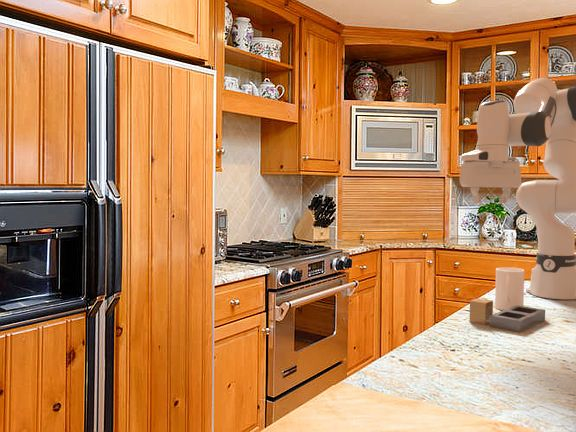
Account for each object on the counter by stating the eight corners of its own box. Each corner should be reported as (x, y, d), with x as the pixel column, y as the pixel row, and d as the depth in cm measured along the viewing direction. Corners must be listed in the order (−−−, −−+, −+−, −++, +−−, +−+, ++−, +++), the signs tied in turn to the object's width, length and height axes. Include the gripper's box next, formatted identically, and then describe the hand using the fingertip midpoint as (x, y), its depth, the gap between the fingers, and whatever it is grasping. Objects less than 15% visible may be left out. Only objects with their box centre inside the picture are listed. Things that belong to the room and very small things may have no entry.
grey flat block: (516, 315, 159) (516, 305, 159) (545, 320, 154) (545, 309, 153) (490, 326, 147) (490, 315, 147) (520, 332, 142) (520, 321, 141)
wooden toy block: (477, 319, 155) (477, 298, 155) (492, 322, 152) (493, 300, 152) (469, 322, 152) (469, 300, 152) (485, 325, 149) (485, 303, 149)
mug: (520, 315, 160) (521, 274, 159) (489, 311, 164) (490, 271, 163) (526, 306, 170) (527, 268, 169) (497, 303, 174) (498, 266, 173)
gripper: (511, 157, 168) (510, 202, 169) (456, 155, 160) (455, 202, 161) (527, 156, 162) (525, 203, 163) (471, 154, 155) (470, 203, 155)
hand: (490, 203), depth 162 cm, fingers open, 8 cm apart
